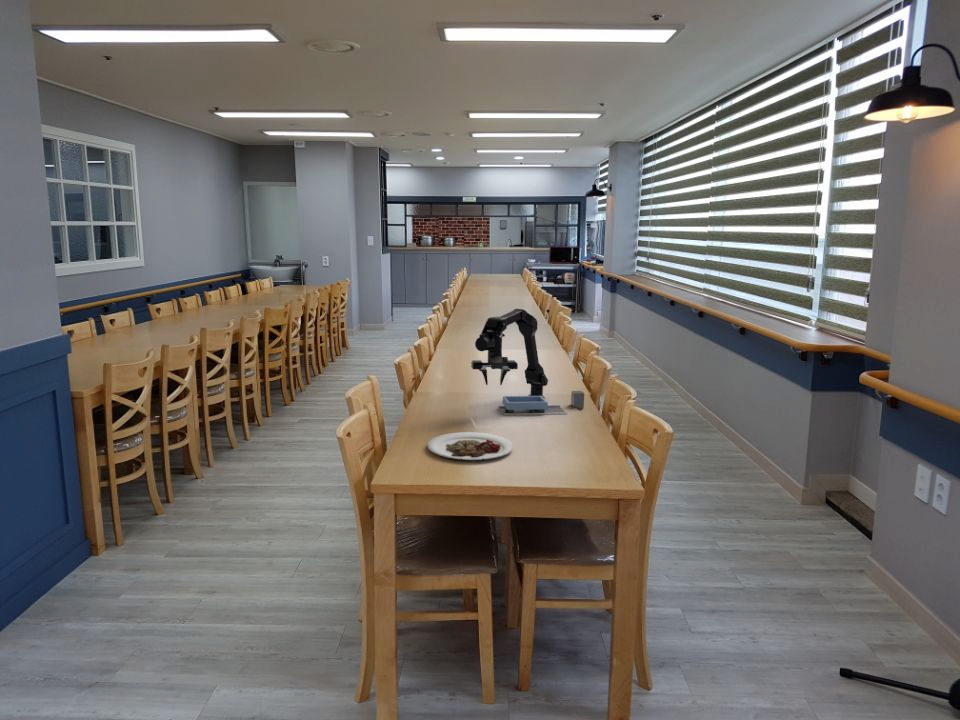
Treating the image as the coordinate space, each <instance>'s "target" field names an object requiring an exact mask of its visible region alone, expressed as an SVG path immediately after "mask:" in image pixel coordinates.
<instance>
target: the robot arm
mask: <svg viewBox="0 0 960 720" xmlns="http://www.w3.org/2000/svg"><path fill="white" fill-rule="evenodd" d="M513 323H515V324H516V325H517V327H518V331H519V333H520V335H522V336H523V341H524V347H525V353H526V354H525V355H526V360H527V367H526V368H525V369H524V376H525V382H526V384H529V385H530V391H529V392H530V393H529V394H528V395H527V396H542V397H543V398H544V399H546V397H545V396H544V387H547V385H548V384H549V379H548V377H547V376H546V374H545V370H544V367H542V365H541V364H540V361H539V356H538V354H539V353H538V350H537V348H538V347H537V341H536V340H537V339H536V333H537V331H538V319H537V318H536V317H534V315H532V314H530V313H528V312H527V311H526V310H525V309H522V308H514V309H513V310H512V311H509V312H507V313H504V314H503V315H500V316H492V317H491V316H490V317H488V318H487V319H486V321H485V324H484V326H483V329H482V331H481V333H480V334H479V337H478V338H476V339H475V341H474V345H475V346H474V347H475V348H476V350H477V351H479V352H485V351H487V362H483V361H482V360H481V359H480V360H479V359H478V360H477V359H475V360H474V359H473V360H472V361H471V362H470V363H471V365H470V366H471V369H472V370H478V371H479V372H481V373H482V375H483V379H484V383H485V385H486V386H488V381H489V380H488V369H487V368H490V369H491V370H500V376H499V377H500V378H499V385H500V386H502V385H503V382H504V379H505V377H506V376H507V375H506V374H507V373H508V372H511V370H519V367H518V366H519V365H518V362H517V361H515V360H511V359H510V360H508V359H509V358H508V356H503V353H502V351H503V337H506V335H505V333H504V331H505V330H507V328H508V327H507V326H510V325H511V324H513Z"/></svg>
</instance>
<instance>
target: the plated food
mask: <svg viewBox="0 0 960 720" xmlns="http://www.w3.org/2000/svg"><path fill="white" fill-rule="evenodd" d="M427 448H428V450H429V451H431V452H432V453H433V454H436V455H437V456H441V457H444V458H449V459H456V460H461V459H462V460H463V461H479V460H481V461H482V459H484V460H492V459H496V458H500V457H504V456H505V455H509V453H511V452H512V451H513V449H514V445H513V443H512V441H510V440H509V439H507V438H506V437H503V436H500V435H496V434H491V433H486V432H476V431H475V432H473V431H464V432H463V431H462V432H461V431H460V432H450V433H445V434H441V435H437V436H435V437H433V438H431V439H430V440H428V441H427Z"/></svg>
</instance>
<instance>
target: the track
mask: <svg viewBox="0 0 960 720" xmlns="http://www.w3.org/2000/svg"><path fill="white" fill-rule="evenodd" d="M498 409H499V410H500V412H501V413H502V415H503V416H537V415H538V416H539V415H541V416H543V415H545V416H546V415H549V416H550V415H551V416H552V415H553V416H554V415H568V414H569V413H568V411H567V412H566V411H565V410H564V409H563V408H562V407H561V405H560V404H549V405H548V406H547V409H544V410H545V412H544V413H541V412H540V411H539V410H540V409H528V410H514V413H510V412H509V410H507V409H506V407H505V406H504V405H498Z"/></svg>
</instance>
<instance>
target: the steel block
mask: <svg viewBox="0 0 960 720" xmlns="http://www.w3.org/2000/svg"><path fill="white" fill-rule="evenodd" d="M570 393H571V394H570V395H571V396H570V398H571V399H570V405H571V406H572V408H576V409H577V410H579V409H578V408H584V409H585V406H584V405H585V392H584V391H582V390H571V392H570Z"/></svg>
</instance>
